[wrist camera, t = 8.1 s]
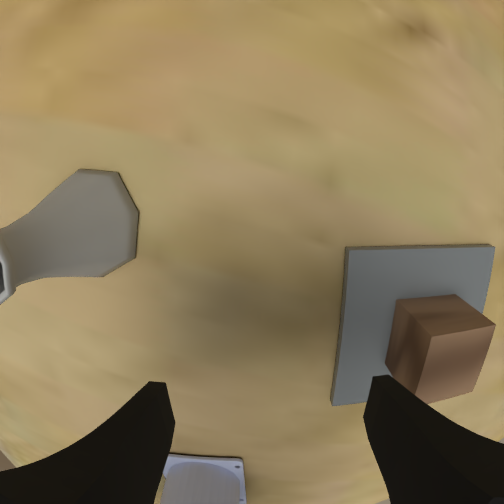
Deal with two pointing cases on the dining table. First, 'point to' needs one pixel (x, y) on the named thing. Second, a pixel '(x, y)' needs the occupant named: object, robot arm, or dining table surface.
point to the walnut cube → (437, 346)
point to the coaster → (384, 300)
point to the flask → (71, 232)
